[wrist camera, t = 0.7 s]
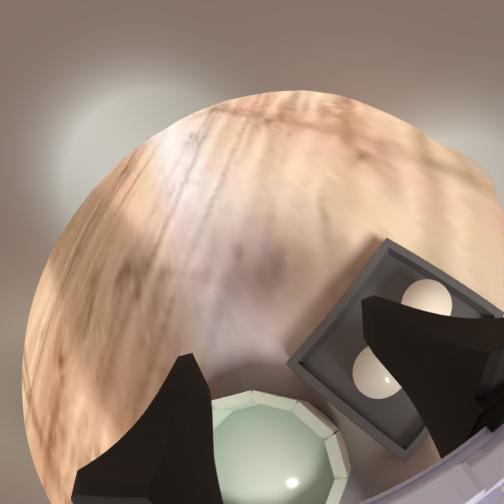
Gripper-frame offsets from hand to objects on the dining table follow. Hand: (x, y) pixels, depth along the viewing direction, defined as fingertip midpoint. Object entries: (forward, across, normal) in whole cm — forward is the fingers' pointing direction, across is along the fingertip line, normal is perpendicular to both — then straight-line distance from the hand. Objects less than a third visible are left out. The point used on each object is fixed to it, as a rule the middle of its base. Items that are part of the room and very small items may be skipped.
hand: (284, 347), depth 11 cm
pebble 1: (+7, -8, +12) cm, 17 cm away
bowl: (+6, +4, +19) cm, 20 cm away
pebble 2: (+8, -14, +9) cm, 19 cm away
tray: (+8, -12, +12) cm, 18 cm away
